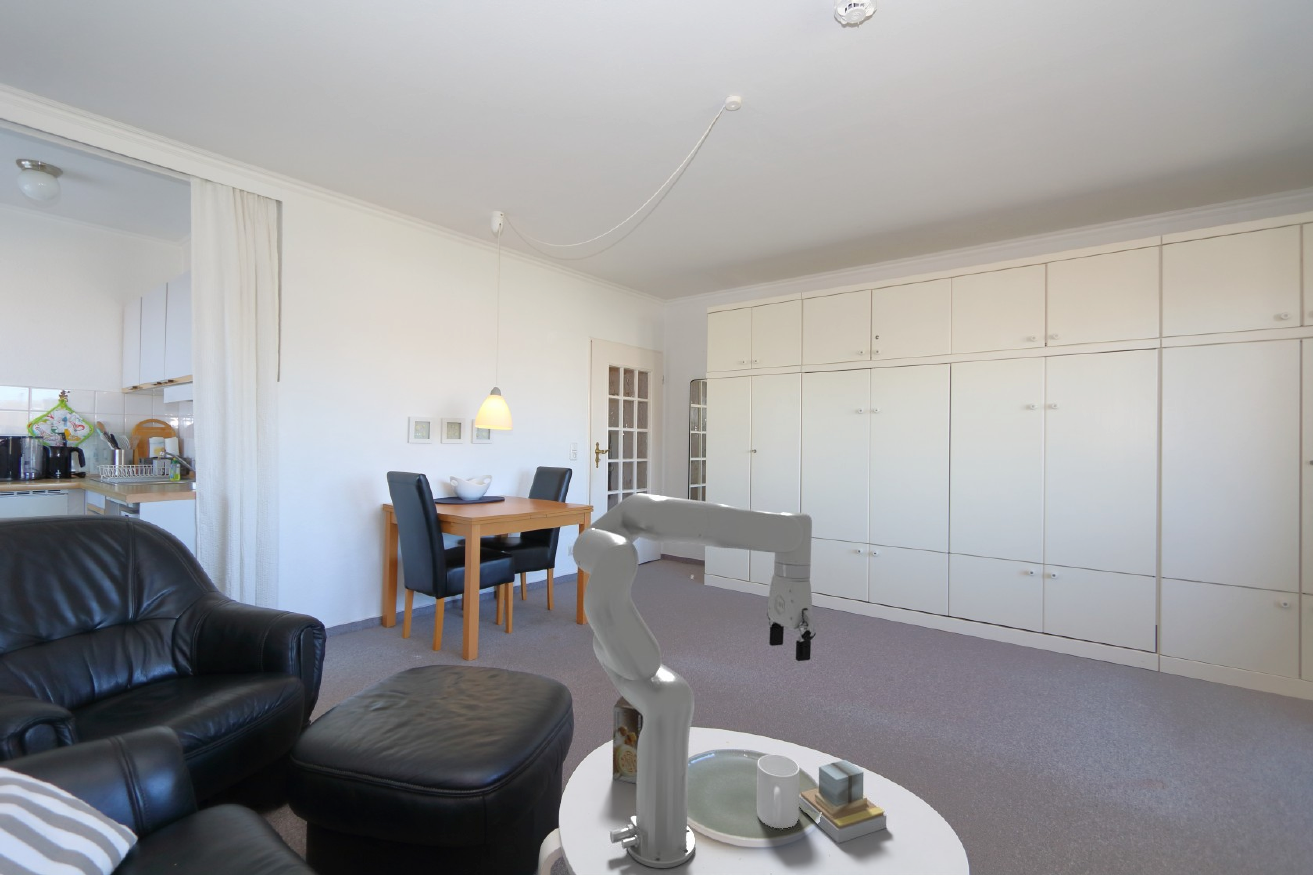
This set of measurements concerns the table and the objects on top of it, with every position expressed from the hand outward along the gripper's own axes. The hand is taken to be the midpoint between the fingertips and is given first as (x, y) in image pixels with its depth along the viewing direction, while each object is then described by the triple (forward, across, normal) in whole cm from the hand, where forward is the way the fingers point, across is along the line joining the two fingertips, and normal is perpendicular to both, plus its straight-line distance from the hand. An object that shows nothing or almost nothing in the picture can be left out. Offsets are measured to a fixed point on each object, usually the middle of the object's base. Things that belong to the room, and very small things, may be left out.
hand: (789, 652), depth 121 cm
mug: (+31, +6, -5) cm, 32 cm away
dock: (+31, +8, +8) cm, 33 cm away
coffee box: (+32, -19, -26) cm, 45 cm away
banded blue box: (+28, +8, +8) cm, 30 cm away
